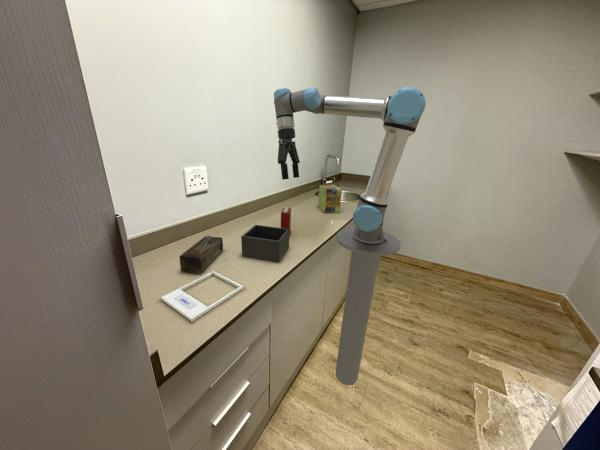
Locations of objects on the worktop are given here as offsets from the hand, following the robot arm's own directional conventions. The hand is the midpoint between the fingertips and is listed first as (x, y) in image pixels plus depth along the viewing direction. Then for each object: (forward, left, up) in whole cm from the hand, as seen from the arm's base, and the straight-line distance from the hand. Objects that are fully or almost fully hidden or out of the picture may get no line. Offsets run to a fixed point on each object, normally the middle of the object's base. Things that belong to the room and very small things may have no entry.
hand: (291, 178), depth 110 cm
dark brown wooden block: (+24, +35, -28) cm, 51 cm away
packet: (+2, 0, -28) cm, 28 cm away
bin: (+4, +21, -28) cm, 35 cm away
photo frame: (+12, +53, -28) cm, 61 cm away
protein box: (-13, -50, -28) cm, 59 cm away
